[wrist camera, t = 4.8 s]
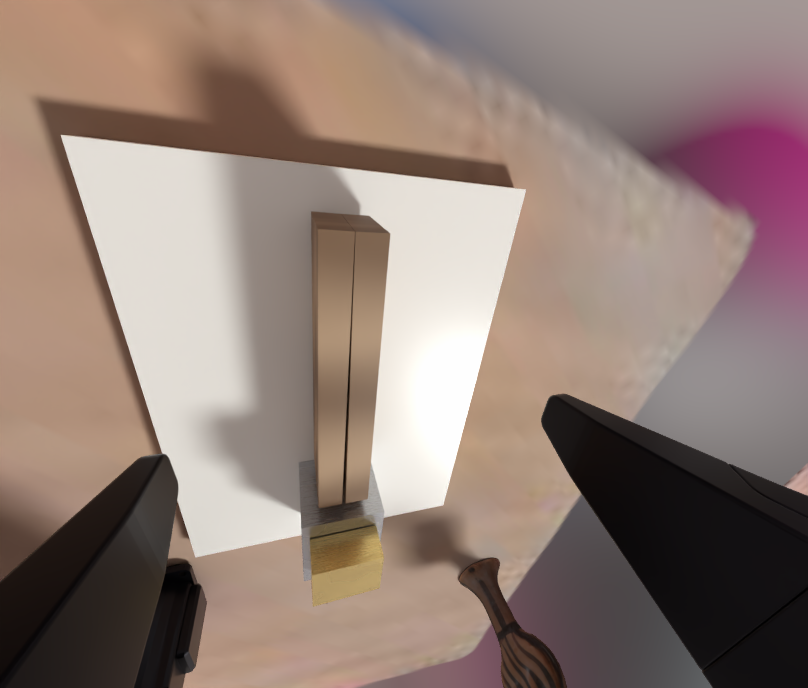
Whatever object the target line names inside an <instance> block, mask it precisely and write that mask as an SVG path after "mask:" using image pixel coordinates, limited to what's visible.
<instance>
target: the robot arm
mask: <svg viewBox="0 0 808 688" xmlns="http://www.w3.org/2000/svg"><path fill="white" fill-rule="evenodd" d="M541 423H542V427H543V429H544V430H545V432H546V434H547V436H548V438H549V439H550V441H551V443H552V445H553V447H554V448H555V450H556V452H557V454H558V456H559V458H560V459H561V461H562V463H563V465H564V467H565V468H566V470H567V472H568V473H569V475H570V477H571V478H572V480H573V482H574V483H575V485H576V486H577V488H578V489H579V491H580V492H581V493H582V495H583V496H584V498H585V499H586V501H587V502H588V504H589V505H590V507H591V508H592V510H593V511H594V513H595V514H596V516H597V517H598V519H599V520H600V522H601V523H602V524H603V526H604V527H605V529H606V530H607V532H608V533H609V535H610V536H611V538H612V539H613V541H614V542H615V544H616V545H617V546H618V548H619V550H620V551H621V553H622V554H623V556H624V557H625V558H626V560H627V561H628V563H629V564H630V566H631V567H632V569H633V570H634V572H635V573H636V575H637V576H638V578H639V579H640V581H641V582H642V583H643V585H644V586H645V588H646V589H647V591H648V592H649V594H650V595H651V597H652V598H653V600H654V601H655V603H656V604H657V606H658V607H659V609H660V610H661V612H662V613H663V615H664V616H665V618H666V619H667V620H668V622H669V623H670V625H671V626H672V628H673V629H674V631H675V632H676V634H677V635H678V637H679V638H680V640H681V641H682V643H683V644H684V646H685V647H686V649H687V650H688V652H689V653H690V655H691V656H692V657H693V659H694V660H695V662H696V663H697V665H698V666H699V668H700V669H701V670H702V673H703V674H704V676H705V677H706V679H707V680H708V682H709V683H710V685H711V686H712V688H808V496H807V495H804V494H802V493H799V492H797V491H794V490H792V489H789V488H787V487H784V486H781V485H779V484H777V483H774V482H772V481H769V480H767V479H764V478H762V477H760V476H757V475H755V474H753V473H750V472H748V471H745V470H743V469H741V468H739V467H736V466H734V465H731V464H727V463H726V462H724V461H722V460H719V459H717V458H715V457H712V456H710V455H708V454H705V453H703V452H701V451H699V450H696V449H694V448H691V447H689V446H687V445H684V444H682V443H680V442H677V441H675V440H673V439H670V438H668V437H666V436H663V435H661V434H659V433H656V432H654V431H651V430H649V429H647V428H645V427H642V426H640V425H637V424H635V423H633V422H631V421H628V420H626V419H624V418H621V417H619V416H617V415H614V414H612V413H610V412H607V411H605V410H602V409H600V408H598V407H595V406H593V405H591V404H588V403H586V402H584V401H581V400H579V399H577V398H574V397H572V396H570V395H567V394H557V395H552V396H550V397H549V399H548V401H547V404H546V406H545V409H544V412H543V415H542V418H541ZM178 489H179V488H178V481H177V478H176V475H175V473H174V470H173V467H172V464H171V462H170V459H169V457H168V456H167V455H166V454H156V455H149V456H143V457H141V458H139V459H137V460H136V461H135V462H134V463H133V464H132V465H130V466H129V467H128V468H127V469H126V470H125V471H124V472H123V473H122V474H120V475H119V476H118V477H117V478H116V479H115V480H114V481H113V482H111V483H110V484H109V485H108V486H107V487H106V488H105V489H104V490H102V491H101V492H100V493H99V494H98V495H97V496H96V497H95V498H93V499H92V500H91V501H90V502H89V503H88V504H87V505H86V506H84V507H83V508H82V509H81V510H80V511H79V512H78V513H77V514H76V515H74V516H73V517H72V518H71V519H70V520H69V521H68V522H67V523H65V524H64V525H63V526H62V527H61V528H60V529H59V530H58V531H56V532H55V533H54V534H53V535H52V536H51V537H50V538H49V539H47V540H46V541H45V542H44V543H43V544H42V545H41V546H40V547H38V548H37V549H36V550H35V551H34V552H33V553H32V554H31V555H30V556H28V557H27V558H26V559H25V560H24V561H23V562H22V563H21V564H19V565H18V566H17V567H16V568H15V569H14V570H13V571H12V572H10V573H9V574H8V575H7V576H6V577H5V578H4V579H3V580H1V581H0V688H183V683H184V678H185V673H189V672H192V671H193V669H194V668H195V666H196V662H197V656H198V650H199V645H200V639H201V633H202V628H203V622H204V616H205V610H206V605H207V601H206V598H205V595H204V592H203V589H202V586H201V585H200V584H199V583H197V580H196V578H195V575H194V572H193V569H192V566H191V565H189V564H181V565H177V566H172V567H167V568H166V565H167V560H168V554H169V547H170V541H171V535H172V529H173V523H174V517H175V510H176V504H177V498H178Z"/></svg>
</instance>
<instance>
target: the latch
mask: <svg viewBox="0 0 808 688" xmlns="http://www.w3.org/2000/svg"><path fill="white" fill-rule="evenodd" d="M310 560H311V582H312V600H313V607H314V606H317V605H321V604H324V603H328V602H332V601H335V600H339V599H342V598H346V597H350V596H353V595H357V594H361V593H364V592H368V591H371V590H375V589H379V587H380V581H381V574H382V567H383V561H384V556H383V552H382V548H381V543H380V539H379V535H378V531H377V527H376V526H371V527H366V528H362V529H357V530H352V531H348V532H343V533H339V534H334V535H329V536H325V537H320V538H315V539H311V540H310Z"/></svg>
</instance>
